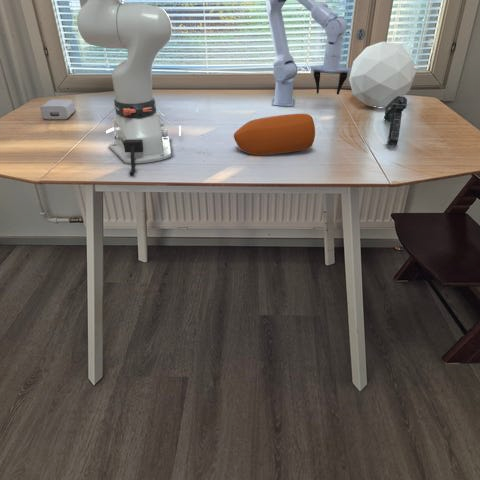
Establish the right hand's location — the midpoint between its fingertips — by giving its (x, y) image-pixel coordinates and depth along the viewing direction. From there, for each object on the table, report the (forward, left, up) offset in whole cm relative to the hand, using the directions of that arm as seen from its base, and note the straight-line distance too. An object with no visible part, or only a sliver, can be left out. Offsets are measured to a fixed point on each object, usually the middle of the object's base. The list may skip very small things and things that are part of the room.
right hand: (327, 93), depth 156 cm
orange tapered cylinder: (+43, -17, -7) cm, 47 cm away
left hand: (-4, -89, +19) cm, 91 cm away
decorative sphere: (-11, +21, -7) cm, 25 cm away
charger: (+20, -99, -7) cm, 102 cm away
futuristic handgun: (+22, +21, -7) cm, 31 cm away
